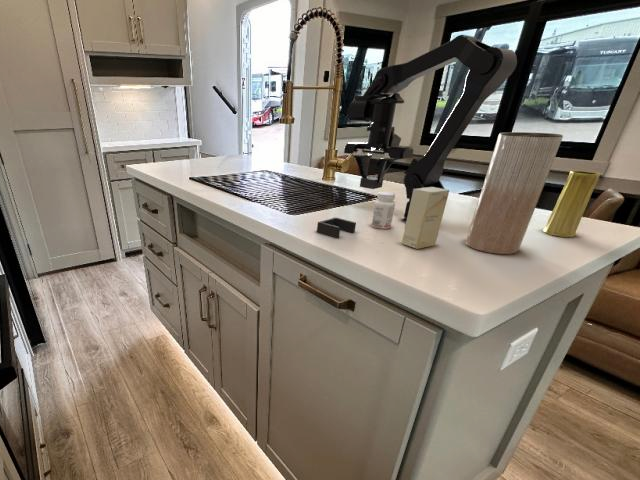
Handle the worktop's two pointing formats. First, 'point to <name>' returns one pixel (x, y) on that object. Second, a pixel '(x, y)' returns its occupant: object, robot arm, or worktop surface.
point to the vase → (571, 204)
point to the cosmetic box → (424, 217)
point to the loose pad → (370, 183)
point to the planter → (511, 190)
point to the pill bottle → (383, 210)
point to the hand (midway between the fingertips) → (371, 181)
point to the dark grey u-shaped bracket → (335, 226)
